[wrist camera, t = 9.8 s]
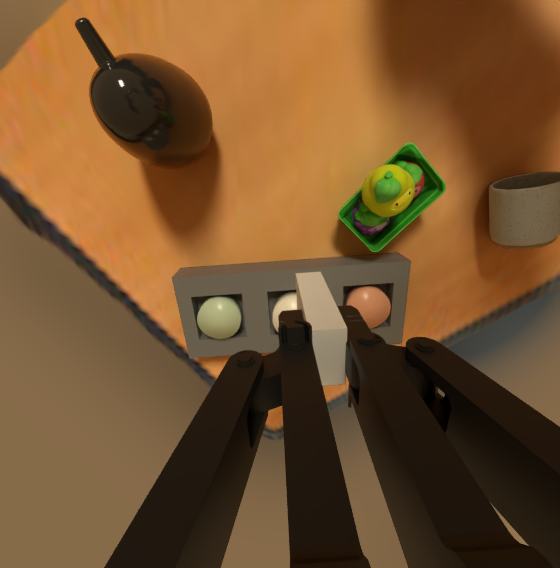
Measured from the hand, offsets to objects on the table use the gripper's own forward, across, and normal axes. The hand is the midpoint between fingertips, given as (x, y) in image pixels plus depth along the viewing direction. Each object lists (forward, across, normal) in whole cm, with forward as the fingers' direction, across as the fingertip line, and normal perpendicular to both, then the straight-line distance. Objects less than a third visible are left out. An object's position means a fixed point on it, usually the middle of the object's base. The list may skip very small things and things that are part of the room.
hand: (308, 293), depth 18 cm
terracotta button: (+22, +11, -12) cm, 27 cm away
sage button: (+22, -10, -12) cm, 27 cm away
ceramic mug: (+25, +32, +1) cm, 40 cm away
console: (+24, 0, -12) cm, 27 cm away
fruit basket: (+25, +12, +3) cm, 28 cm away
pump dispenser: (+25, -13, +13) cm, 31 cm away
